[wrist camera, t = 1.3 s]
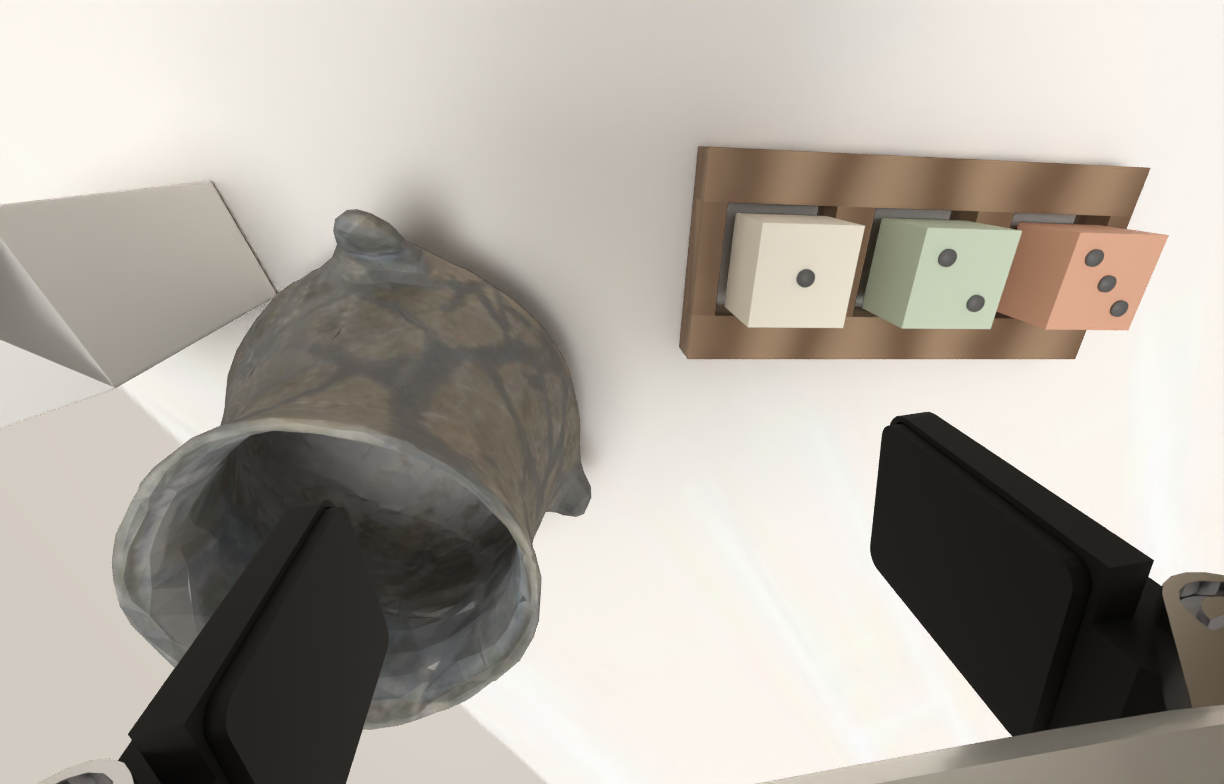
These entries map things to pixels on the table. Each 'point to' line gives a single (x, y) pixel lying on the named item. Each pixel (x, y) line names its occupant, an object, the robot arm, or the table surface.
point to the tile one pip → (792, 270)
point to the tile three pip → (1079, 275)
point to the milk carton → (113, 289)
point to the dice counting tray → (853, 196)
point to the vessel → (376, 465)
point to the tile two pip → (939, 273)
